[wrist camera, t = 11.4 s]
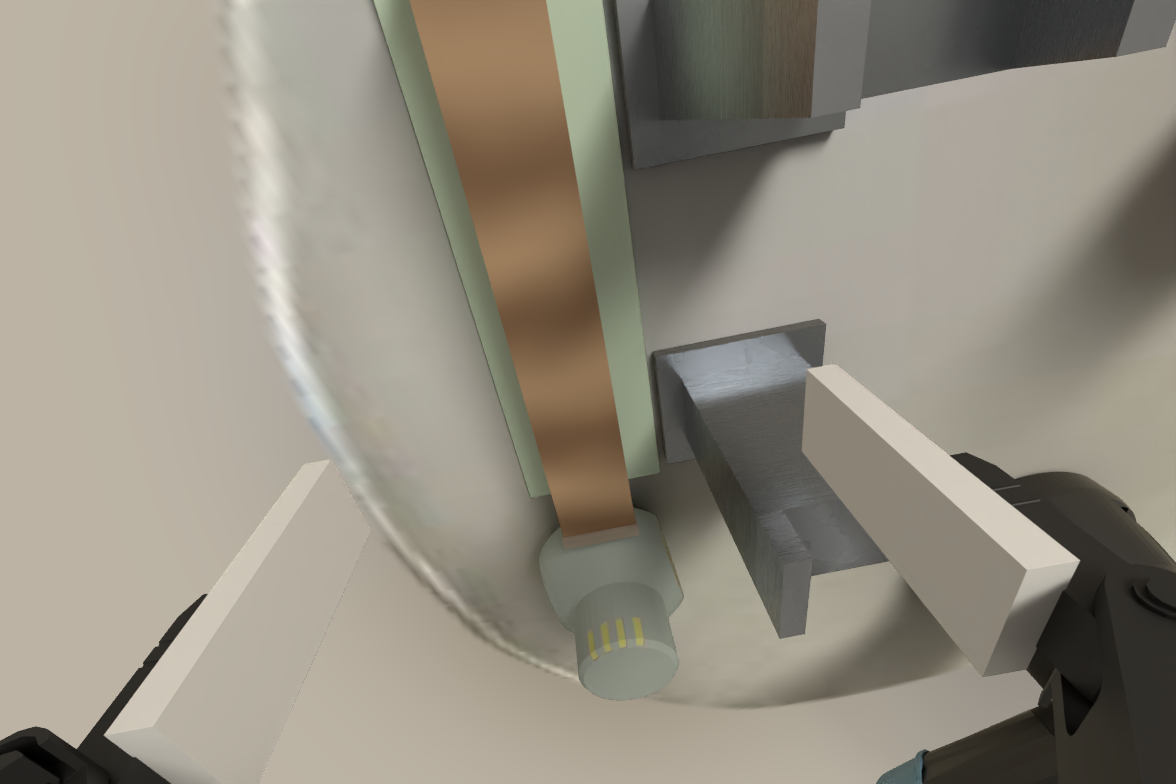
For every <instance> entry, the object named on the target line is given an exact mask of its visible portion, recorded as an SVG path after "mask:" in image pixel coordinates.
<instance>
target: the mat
mask: <svg viewBox="0 0 1176 784" xmlns="http://www.w3.org/2000/svg"><path fill="white" fill-rule="evenodd" d="M374 3H375V7H376V10H377V13H378V16H379V19H380V22H381V26H382V29H383V32H384V35H385V38H386V41H387V45H388V48H389V51H390V54H391V57H392V60H393V64H394V67H395V70H396V73H397V76H398V79H399V83H400V86H401V89H402V92H403V95H404V98H405V102H406V105H407V108H408V111H409V114H410V117H411V121H412V124H413V127H414V130H415V133H416V136H417V140H418V143H419V146H420V149H421V152H422V155H423V159H424V162H425V165H426V168H427V171H428V174H429V178H430V181H431V184H432V187H433V190H434V193H435V197H436V200H437V203H438V206H439V209H440V212H441V215H442V219H443V222H444V225H445V228H446V231H447V234H448V238H449V241H450V244H451V247H452V250H453V253H454V257H455V260H456V263H457V266H458V269H459V272H460V276H461V279H462V282H463V285H464V288H465V291H466V295H467V298H468V301H469V304H470V307H471V310H472V314H473V317H474V320H475V323H476V326H477V329H478V333H479V336H480V339H481V342H482V345H483V348H484V352H485V355H486V358H487V361H488V364H489V367H490V371H491V374H492V377H493V380H494V383H495V386H496V390H497V393H498V396H499V399H500V402H501V405H502V409H503V412H504V415H505V418H506V421H507V424H508V428H509V431H510V434H511V437H512V440H513V443H514V447H515V450H516V453H517V456H518V459H519V462H520V465H521V469H522V472H523V475H524V478H525V481H526V484H527V488H528V491H529V494H530V497H531V498H534V497H539V496H545V495H550V494H551V492H550V489H549V485H548V482H547V478H546V475H545V471H544V468H543V464H542V461H541V457H540V454H539V450H538V447H537V443H536V440H535V436H534V433H533V430H532V426H531V423H530V419H529V416H528V412H527V409H526V405H525V402H524V398H523V395H522V391H521V388H520V384H519V381H518V377H517V374H516V370H515V367H514V363H513V360H512V356H511V353H510V349H509V346H508V342H507V339H506V335H505V332H504V328H503V325H502V322H501V318H500V315H499V311H498V308H497V304H496V301H495V297H494V294H493V290H492V287H491V283H490V280H489V276H488V273H487V269H486V266H485V262H484V259H483V255H482V252H481V248H480V245H479V241H478V238H477V234H476V231H475V227H474V224H473V221H472V217H471V214H470V210H469V207H468V203H467V200H466V196H465V193H464V189H463V186H462V182H461V179H460V175H459V172H458V168H457V165H456V161H455V158H454V154H453V151H452V147H451V144H450V140H449V137H448V133H447V130H446V126H445V123H444V119H443V116H442V113H441V109H440V106H439V102H438V99H437V95H436V92H435V88H434V85H433V81H432V78H431V74H430V71H429V67H428V64H427V60H426V57H425V53H424V50H423V46H422V43H421V39H420V36H419V32H418V29H417V25H416V22H415V18H414V15H413V11H412V8H411V5H410V1H409V0H374ZM546 3H547V9H548V15H549V20H550V26H551V32H552V38H553V44H554V50H555V55H556V61H557V67H558V73H559V79H560V85H561V91H562V96H563V102H564V108H565V114H566V120H567V126H568V131H569V137H570V143H571V149H572V155H573V161H574V166H575V172H576V178H577V184H578V190H579V196H580V201H581V207H582V213H583V219H584V225H585V231H586V236H587V242H588V248H589V254H590V260H591V266H592V271H593V277H594V283H595V289H596V295H597V301H598V306H599V312H600V318H601V324H602V330H603V336H604V341H605V347H606V353H607V359H608V365H609V371H610V376H611V382H612V388H613V394H614V400H615V406H616V411H617V417H618V423H619V429H620V435H621V441H622V446H623V452H624V458H625V464H626V470H627V476H628V479H632V478H637V477H642V476H647V475H653V474H658V473H660V468H659V459H658V451H657V443H656V435H655V427H654V419H653V411H652V402H651V394H650V386H649V378H648V370H647V362H646V353H645V345H644V337H643V329H642V321H641V313H640V304H639V296H638V288H637V280H636V272H635V264H634V255H633V247H632V239H631V231H630V223H629V215H628V207H627V198H626V190H625V182H624V174H623V166H622V158H621V149H620V141H619V133H618V125H617V117H616V109H615V100H614V92H613V84H612V76H611V68H610V60H609V52H608V43H607V35H606V27H605V19H604V11H603V3H602V0H546Z"/></svg>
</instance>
